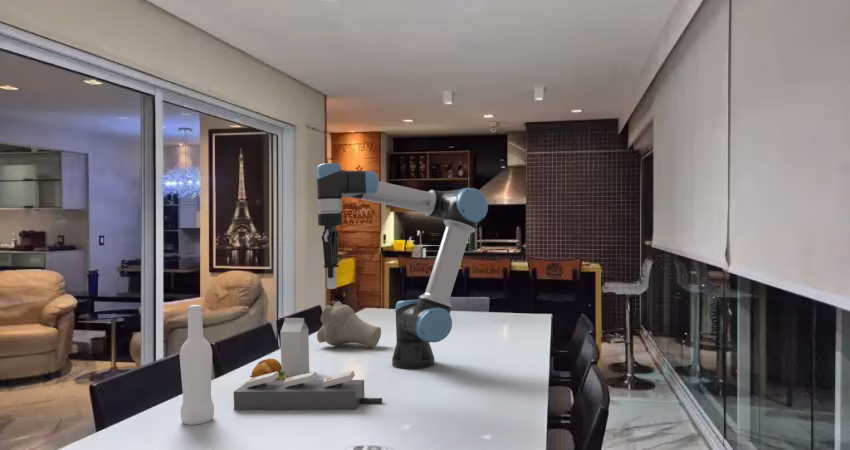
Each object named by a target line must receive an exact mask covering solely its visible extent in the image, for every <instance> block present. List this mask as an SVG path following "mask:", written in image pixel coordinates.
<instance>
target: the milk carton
mask: <svg viewBox="0 0 850 450" xmlns="http://www.w3.org/2000/svg"><path fill="white" fill-rule="evenodd" d="M280 329H281V330H280V332H279V333H280V362H281V363H280V364H281V368H282V369H281V371H285V372H286V373H285V376H286V377H293V376H298V375H302V374H306V373H310V342H309V340H310V339H309V327H308V325H307V324H306V321H305V317H302V318H301V317H285V318H284V321H283V324H282V327H281V328H280Z"/></svg>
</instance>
